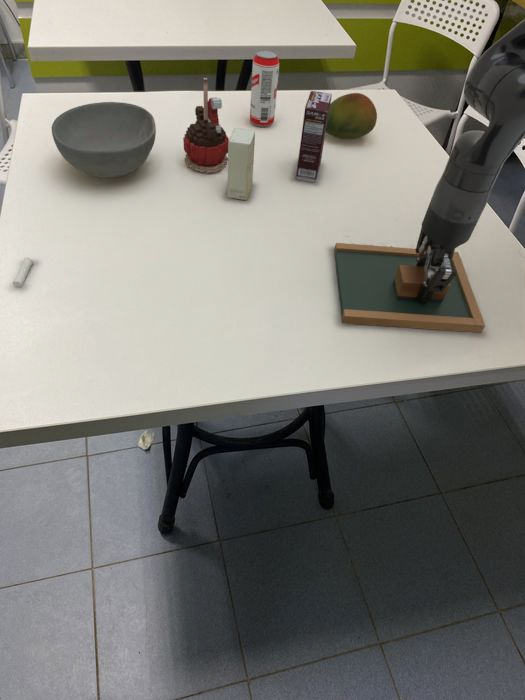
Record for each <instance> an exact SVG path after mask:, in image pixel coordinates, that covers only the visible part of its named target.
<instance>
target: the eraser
mask: <svg viewBox="0 0 525 700" xmlns="http://www.w3.org/2000/svg"><path fill="white" fill-rule="evenodd" d="M430 268H436V267H430ZM433 276H434V275H431V276H430V279H429V280H431V278H432V277H433ZM424 277H425V272H424V267H422V266H408V265H399V267H398V270H397V273H396V275H395V278H394V281H393V284H394V288H395V293H396V297H397V299H399V300H413V301H417V298H416V297H417V295H418V293H419V290H420V288H421V286H422V283H423V281H424ZM449 288H450V283H449V284H448V286H447V287H446V288H445V290H444V291H443V292H434V293H433V295H432V297H431V299H430V301H429V302H443V300H444V298H445V296H446V294H447V292H448V290H449Z"/></svg>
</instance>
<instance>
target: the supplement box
mask: <svg viewBox="0 0 525 700" xmlns="http://www.w3.org/2000/svg"><path fill="white" fill-rule="evenodd" d="M332 96H333V94H332V93H328V92H323V91H315V90H310V92H309V94H308V98H307V100H306V103H305V106H304V114H303V121H302V129H301V136H300V144H299V152H298V153H299V154H298V158H297V167H296V173H295V180H298V181H302V182H308V183H317V179H318V176H319V171H320V167H321V165H322V164H321V163H322V158H323V151H324V146H325V145H324V144H325V139H326V133H327V132H326V127H327V121H328V115H329V109H330V104H331V103H332V102H331V101H332Z"/></svg>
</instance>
